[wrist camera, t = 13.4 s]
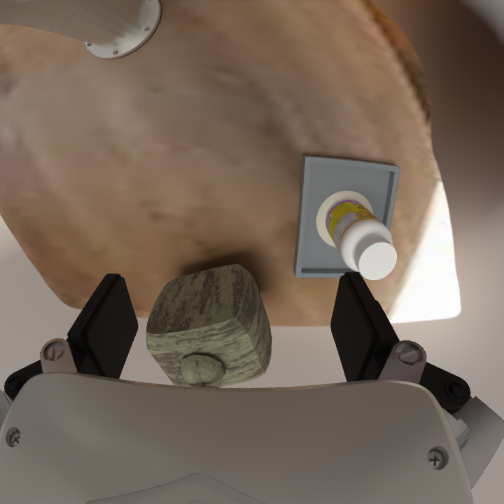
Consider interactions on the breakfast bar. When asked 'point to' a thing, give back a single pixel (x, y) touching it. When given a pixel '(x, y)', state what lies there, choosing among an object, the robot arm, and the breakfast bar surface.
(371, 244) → the supplement bottle
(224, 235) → the breakfast bar surface
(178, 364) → the tabletop clock
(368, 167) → the tray
